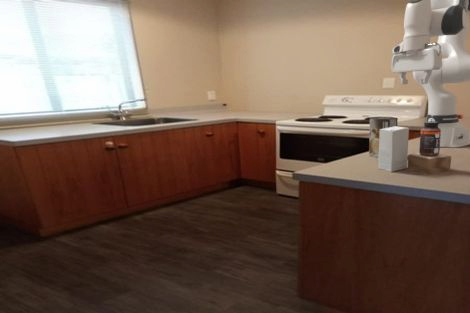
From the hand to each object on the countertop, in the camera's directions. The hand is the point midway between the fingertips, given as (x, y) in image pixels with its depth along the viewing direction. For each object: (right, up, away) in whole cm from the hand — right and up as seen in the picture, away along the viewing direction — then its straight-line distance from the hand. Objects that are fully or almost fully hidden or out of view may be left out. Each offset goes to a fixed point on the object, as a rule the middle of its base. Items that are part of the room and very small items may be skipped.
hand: (414, 84), depth 124 cm
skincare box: (-11, -32, -6) cm, 35 cm away
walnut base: (-1, -32, -10) cm, 33 cm away
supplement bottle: (-1, -27, -11) cm, 29 cm away
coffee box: (-6, -28, +14) cm, 31 cm away
